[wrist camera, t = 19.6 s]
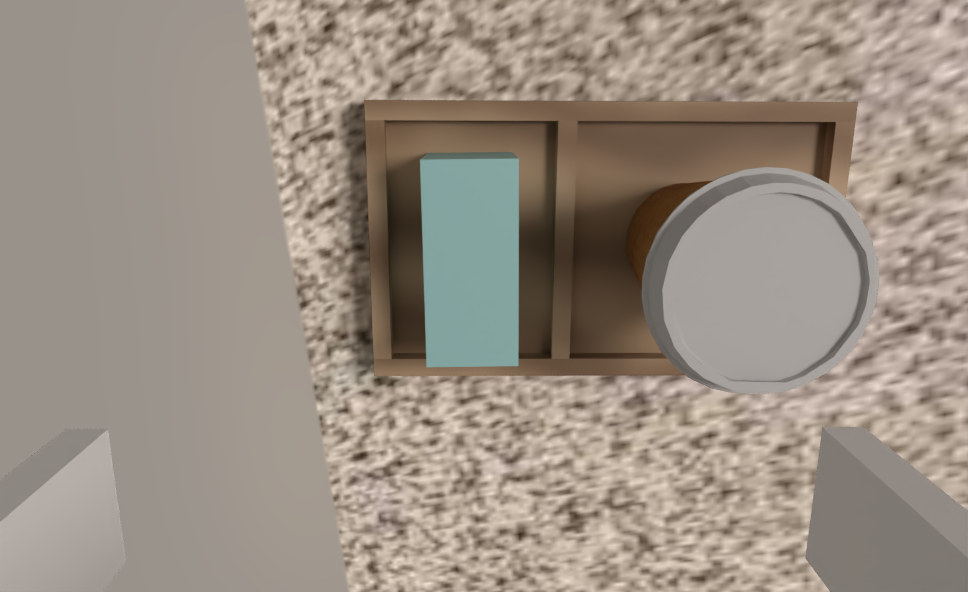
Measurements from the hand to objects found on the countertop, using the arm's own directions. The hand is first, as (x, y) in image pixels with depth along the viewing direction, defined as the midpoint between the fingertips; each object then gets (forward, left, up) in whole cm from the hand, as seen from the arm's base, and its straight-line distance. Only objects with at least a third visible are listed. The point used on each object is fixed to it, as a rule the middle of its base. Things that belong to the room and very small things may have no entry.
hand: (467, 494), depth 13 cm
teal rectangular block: (0, 0, -27) cm, 27 cm away
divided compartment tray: (0, +7, -29) cm, 30 cm away
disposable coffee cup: (0, +12, -27) cm, 30 cm away
